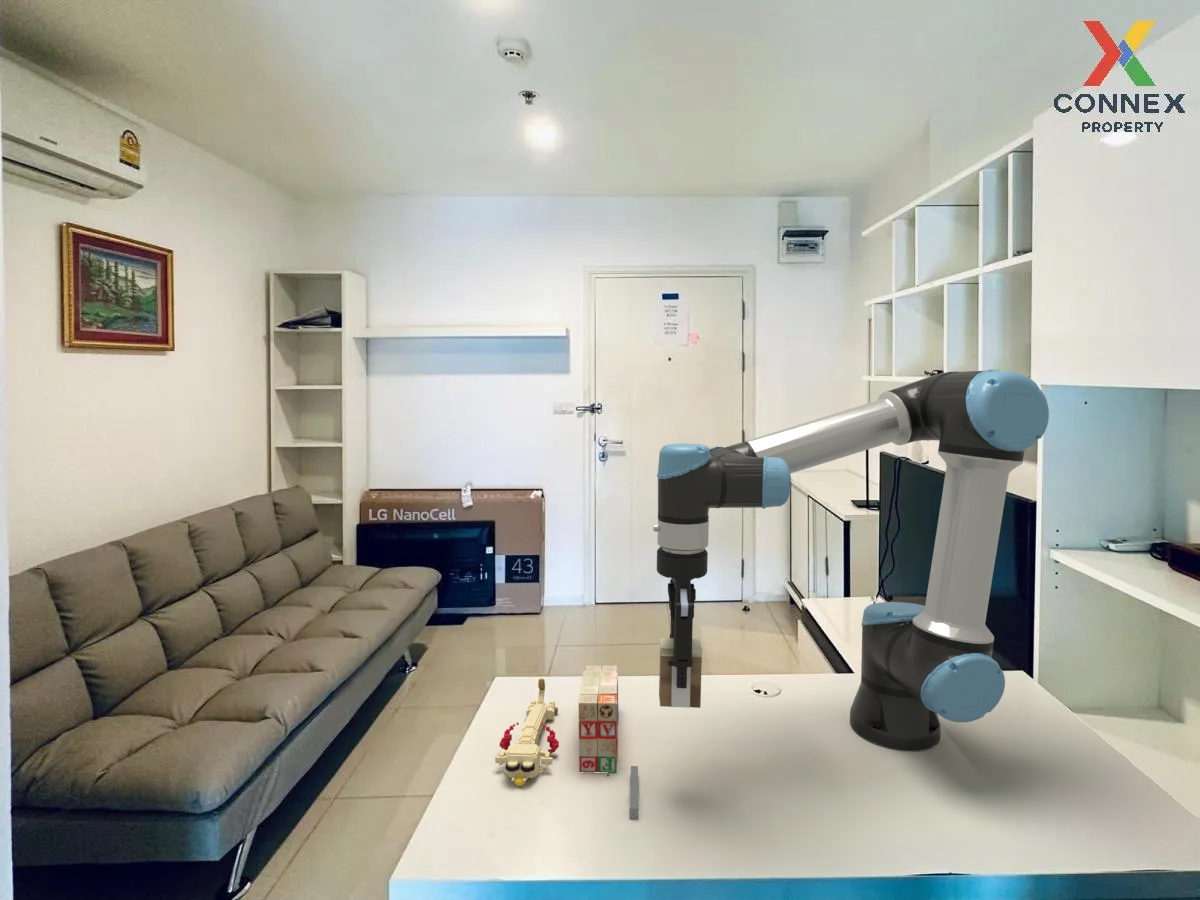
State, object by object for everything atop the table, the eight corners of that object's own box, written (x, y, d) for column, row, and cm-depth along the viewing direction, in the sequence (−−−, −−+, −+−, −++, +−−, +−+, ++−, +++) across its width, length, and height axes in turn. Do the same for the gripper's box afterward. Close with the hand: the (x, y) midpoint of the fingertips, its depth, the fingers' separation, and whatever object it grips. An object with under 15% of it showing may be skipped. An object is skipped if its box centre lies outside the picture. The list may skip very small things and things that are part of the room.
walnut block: (697, 695, 105) (699, 639, 104) (700, 707, 101) (701, 649, 100) (659, 694, 105) (660, 638, 105) (660, 706, 101) (661, 648, 101)
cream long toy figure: (517, 720, 131) (486, 786, 106) (517, 675, 131) (486, 730, 106) (568, 721, 131) (549, 788, 106) (568, 676, 130) (549, 732, 106)
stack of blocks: (586, 710, 132) (585, 649, 131) (618, 711, 132) (618, 649, 130) (579, 774, 111) (578, 701, 109) (617, 774, 110) (616, 702, 109)
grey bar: (638, 775, 110) (638, 766, 110) (638, 819, 99) (637, 808, 99) (630, 775, 110) (630, 765, 110) (629, 818, 99) (629, 808, 99)
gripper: (655, 534, 110) (653, 674, 112) (658, 562, 93) (656, 726, 95) (702, 535, 109) (699, 675, 112) (714, 563, 92) (710, 727, 95)
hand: (679, 698), depth 103 cm, fingers closed on walnut block, 4 cm apart
